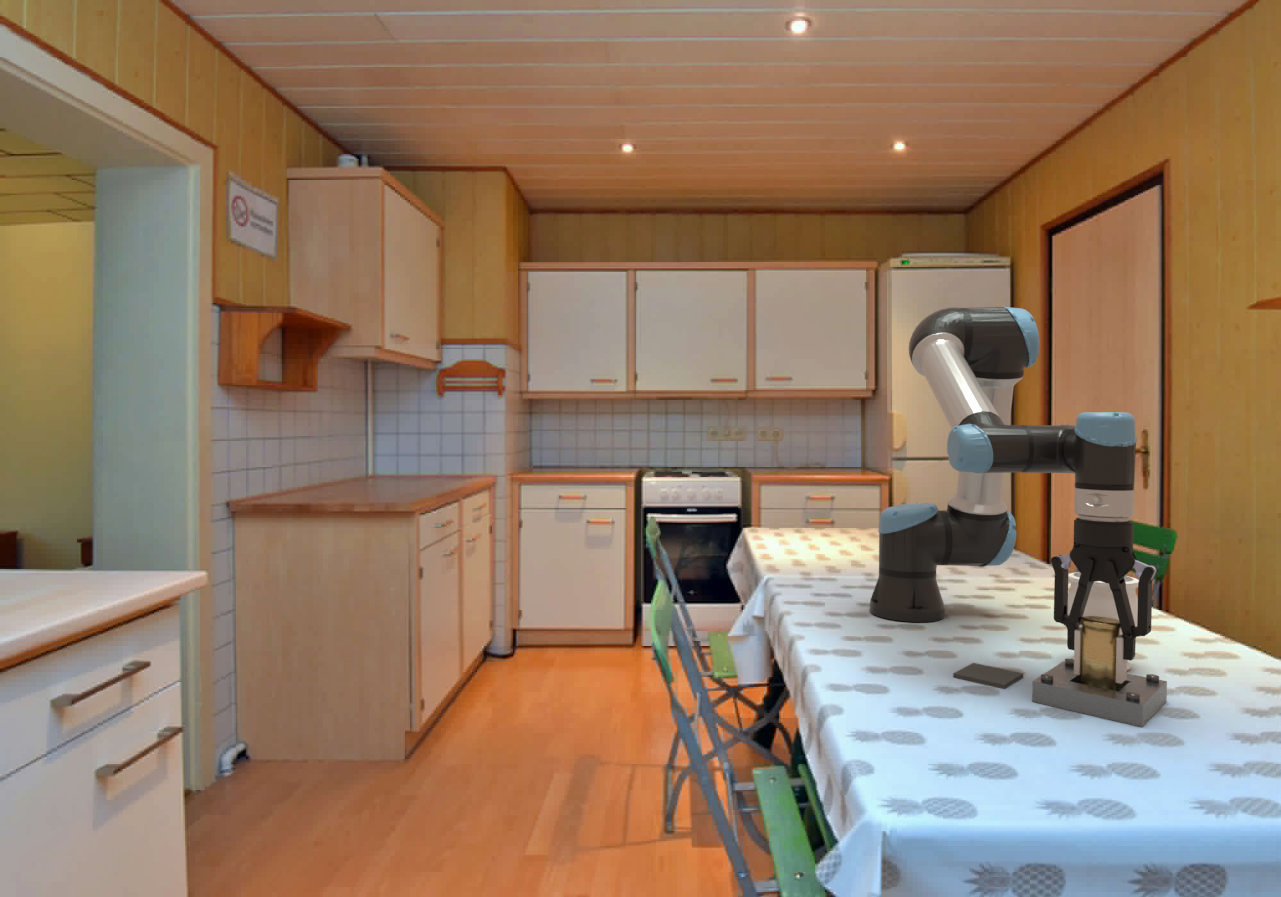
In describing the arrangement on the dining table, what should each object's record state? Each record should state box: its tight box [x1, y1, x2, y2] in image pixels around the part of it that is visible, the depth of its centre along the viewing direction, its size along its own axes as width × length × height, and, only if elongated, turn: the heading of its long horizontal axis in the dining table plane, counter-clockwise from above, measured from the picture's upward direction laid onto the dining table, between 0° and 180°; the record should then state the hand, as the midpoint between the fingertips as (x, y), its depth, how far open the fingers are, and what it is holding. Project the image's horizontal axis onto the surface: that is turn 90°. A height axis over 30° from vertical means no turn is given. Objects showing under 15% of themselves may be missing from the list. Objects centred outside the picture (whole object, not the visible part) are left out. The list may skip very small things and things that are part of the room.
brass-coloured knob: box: [1081, 616, 1121, 692], centre depth 117 cm, size 5×5×12 cm
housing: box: [1031, 658, 1168, 728], centre depth 117 cm, size 14×14×4 cm
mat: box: [952, 662, 1024, 690], centre depth 129 cm, size 8×8×1 cm
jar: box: [1068, 571, 1139, 671], centre depth 135 cm, size 11×10×15 cm
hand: (1099, 676), depth 117 cm, fingers closed on brass-coloured knob, 5 cm apart
